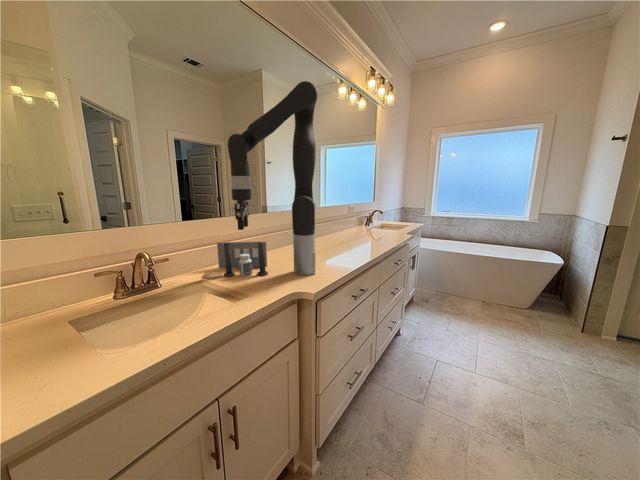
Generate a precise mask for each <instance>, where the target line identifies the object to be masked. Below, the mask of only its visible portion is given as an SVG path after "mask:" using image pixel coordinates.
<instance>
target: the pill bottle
mask: <svg viewBox="0 0 640 480" xmlns="http://www.w3.org/2000/svg"><path fill="white" fill-rule="evenodd" d="M249 258H250V254H241V255H240V259H241V260H239V268H238V270H239V276H240V277H244V278H245V277H247V278H248V277H250V276H252V275H253V267H252V260H251V259H249Z"/></svg>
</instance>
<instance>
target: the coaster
mask: <svg viewBox="0 0 640 480" xmlns="http://www.w3.org/2000/svg"><path fill="white" fill-rule="evenodd" d="M223 276H224V274H223V272H220V271H212V272H211V271H210V272H207V273H204V274H202V276H201V278H202V279H203V280H213V279H214V280H215V279H218V278H221V277H223Z"/></svg>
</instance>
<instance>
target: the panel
mask: <svg viewBox="0 0 640 480" xmlns="http://www.w3.org/2000/svg"><path fill="white" fill-rule="evenodd" d="M258 242H259V241H224V242H223V241H220V242H219V241H218V242H216V246H217V247H216V248H217V259H218V260H217V261H218V268H219V269H226V263H225V251H224V243H230V249H231V262H232V269H235V268H238V269H239V260H241V259H240V255H241V254H250V258H249V259H251V260H252V268H260V266H259V247H258ZM260 242H264V251H265V268H266V267H268V256H267V255H268V254H267V241H260Z"/></svg>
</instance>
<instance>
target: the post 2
mask: <svg viewBox="0 0 640 480" xmlns="http://www.w3.org/2000/svg"><path fill="white" fill-rule="evenodd" d="M257 242H258V247H259V266H260V267H259V271H258V272H257V276H258V277H265V276H267V275H268V274H269V271H268V270H266V267H265V251H264V242H261V241H257Z"/></svg>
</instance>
